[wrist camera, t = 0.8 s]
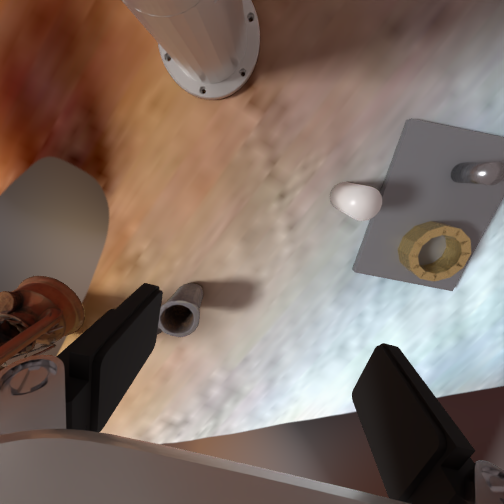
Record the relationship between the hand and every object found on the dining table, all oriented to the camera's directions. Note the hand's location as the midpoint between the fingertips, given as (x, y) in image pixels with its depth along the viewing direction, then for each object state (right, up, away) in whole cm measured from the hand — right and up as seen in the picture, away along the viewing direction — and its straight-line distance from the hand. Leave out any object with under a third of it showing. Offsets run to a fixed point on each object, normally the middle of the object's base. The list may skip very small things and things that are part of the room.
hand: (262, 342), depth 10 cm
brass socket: (+26, +4, +26) cm, 37 cm away
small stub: (+28, +15, +22) cm, 39 cm away
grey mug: (-13, -5, +33) cm, 36 cm away
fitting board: (+26, +10, +25) cm, 37 cm away
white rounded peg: (+13, +12, +25) cm, 31 cm away
